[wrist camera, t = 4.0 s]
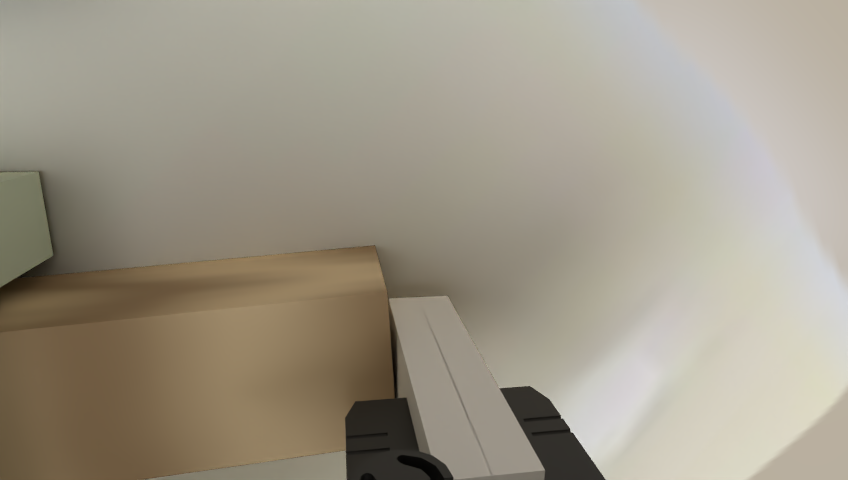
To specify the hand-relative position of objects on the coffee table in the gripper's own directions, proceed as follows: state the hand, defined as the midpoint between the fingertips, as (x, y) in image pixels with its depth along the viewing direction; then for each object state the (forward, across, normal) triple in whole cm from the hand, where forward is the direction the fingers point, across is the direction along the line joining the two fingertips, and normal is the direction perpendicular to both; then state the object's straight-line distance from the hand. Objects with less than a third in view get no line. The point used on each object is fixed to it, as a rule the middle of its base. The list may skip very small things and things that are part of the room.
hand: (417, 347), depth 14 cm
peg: (+2, -7, 0) cm, 7 cm away
